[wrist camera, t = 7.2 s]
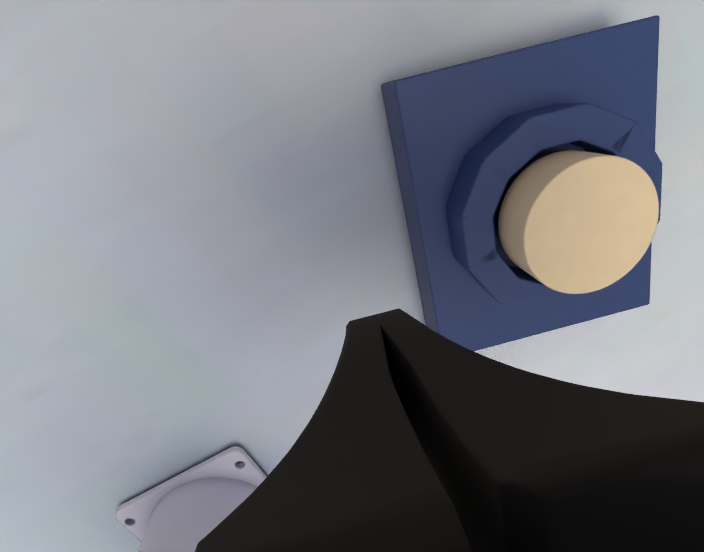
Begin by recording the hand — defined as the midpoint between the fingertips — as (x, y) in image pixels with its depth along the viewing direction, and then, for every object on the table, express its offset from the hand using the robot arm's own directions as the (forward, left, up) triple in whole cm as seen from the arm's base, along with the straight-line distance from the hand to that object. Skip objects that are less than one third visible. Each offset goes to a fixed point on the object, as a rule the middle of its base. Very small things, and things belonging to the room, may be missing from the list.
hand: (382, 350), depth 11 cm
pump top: (-2, -8, -6) cm, 10 cm away
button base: (-2, -8, -10) cm, 13 cm away
